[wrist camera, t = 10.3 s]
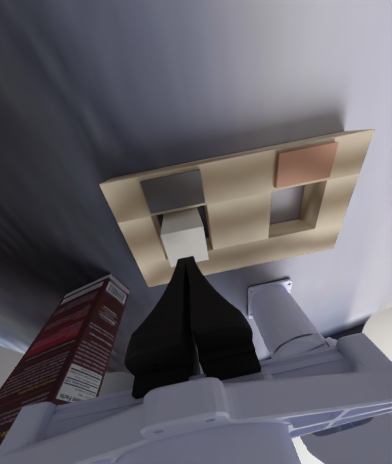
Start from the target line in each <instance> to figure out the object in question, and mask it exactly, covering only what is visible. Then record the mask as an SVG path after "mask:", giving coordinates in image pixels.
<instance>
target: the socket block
mask: <svg viewBox="0 0 392 464" xmlns="http://www.w3.org/2000/svg"><path fill="white" fill-rule="evenodd" d="M374 130H375V129H369V130H354V131H343V132H338V133H333V134H328V135H323V136H318V137H313V138H308V139H303V140H298V141H293V142H288V143H283V144H278V145H273V146H268V147H263V148H258V149H253V150H248V151H243V152H238V153H233V154H228V155H223V156H218V157H213V158H208V159H203V160H199V161H194V162H189V163H184V164H179V165H174V166H169V167H164V168H159V169H154V170H149V171H144V172H139V173H134V174H129V175H124V176H119V177H114V178H110V179H108V180H107V181H105V182H103V183H101V184H99V185H100V187H101V189H102V192H103V194H104V196H105V198H106V200H107V202H108V204H109V206H110V208H111V210H112V212H113V214H114V216H115V219H116V221H117V223H118V225H119V227H120V229H121V231H122V233H123V235H124V237H125V239H126V241H127V243H128V246H129V248H130V250H131V252H132V254H133V256H134V258H135V260H136V262H137V264H138V266H139V268H140V270H141V273H142V275H143V277H144V279H145V281H146V283H147V285H148V287H152V286H157V285H161V284H166V283H169V282H170V280H171V277H172V275H173V272H174V270H175V267H176V266H175V267H171V266H170V263H169V260H168V257H167V254H166V251H165V248H164V245H163V242H162V239H161V236H160V234H161V226H160V223H159V220H158V217H157V215H159V214H164V213H169V212H174V211H179V210H184V209H189V208H193V207H198V206H203V205H204V208H205V214H206V221H207V228H208V234H209V237H208V238H205V239H206V245H207V251H208V258H209V260H204V261H200V262H196V264H197V266H198V267H199V269H200V271H201V272H202V274H203V275H209V274H214V273H219V272H223V271H228V270H233V269H238V268H242V267H247V266H252V265H257V264H261V263H266V262H271V261H276V260H281V259H285V258H290V257H295V256H300V255H304V254H309V253H314V252H319V251H323V250H328V249H333V248H334V245H335V242H336V239H337V237H338V234H339V231H340V228H341V225H342V222H343V219H344V216H345V213H346V211H347V208H348V205H349V202H350V199H351V196H352V193H353V190H354V188H355V185H356V182H357V179H358V176H359V173H360V170H361V167H362V164H363V162H364V159H365V156H366V153H367V150H368V147H369V144H370V141H371V139H372V136H373V133H374ZM301 185H305V188H304V193H303V199H302V204H301V209H300V215H299V219H295V220H290V221H285V222H280V223H275V224H271V225H269V224H270V211H271V198H272V191H277V190H282V189H286V188H291V187H296V186H301Z"/></svg>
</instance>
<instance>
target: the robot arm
mask: <svg viewBox="0 0 392 464" xmlns="http://www.w3.org/2000/svg"><path fill="white" fill-rule="evenodd" d="M291 285H292V280H291V279H285V280H281V281H276V282H271V283H267V284H262V285H257V286H252V287H249V288H248V318H249V319H252V318H254V320H255V322H256V325H257V327H258V329H259V331H260V334H261V336H262V338H263V340H264V343H265V345H266V347H267V349H268V350H269V352H270V353H271V354H272V355H271V358H272V359H270V360H266V361H261V362H259V360H258V358H257V355H256V352H255V347H254V345H253V342H252V336H253V333H252V329H251V327H250V325H249V323H248V321H247V320H246V318H245V317H244V316H243V314H242V313H241V311H240V310H238V309H237V308H235V307H234V306H233V305H232V304H230V303H229V302H228V301H227V300H226V299H224V298H223V297H222V296H221V295H220V294H219V293H218V292H217V291H216V290H215V289H214V288H213V287H212V286H211V284H210V283H209V282H208V281H207V279H206V278H205V277H204V275H203V274H202V272H201V271H200V269H199V267H198V266H197V264H196V261H195V258H194V256H190V257H185V258H180V259H178V260H177V264H176V267H175V270H174V272H173V275H172V277H171V280H170V282H169V284H168V286H167V288H166V290H165V292H164V294H163V295H162V297H161V299H160V300H159V302H158V303H157V305H156V306H155V308H154V309H153V310H152V312H151V313H150V314H149V316H148V317H147V318H146V319H145V321H144V322H143V323H142V324H141V325H140V326H139V327H138V328H137V330H136V331H135V332H134V333H133V334H132V336H131V339H130V342H129V345H128V348H127V353H126V357H125V361H124V365H125V366H126V368H127V369H128V370H129V371H130V372H131V373H132V374H133V375H134V376H135V378H134V385H133V389H132V390H128V391H123V392H118V393H114V394H109V395H105V396H100V397H95V398H91V399H86V400H82V401H77V402H72V403H68V404H63V405H59V406H56V405H55V404H54V403H51V402H40V403H36V404H31V405H27V406H24V407H22V409H21V411H20V413H19V414H18V416H17V418H16V419H15V421H14V423H13V425H12V426H11V428H10V430H9V432H8V433H7V435H6V437H5V439H4V440H3V442H2V444H1V445H0V464H301V462H300V460H299V457H298V455H297V453H296V450H295V447H294V445H293V442H292V439H291V438H294V437H298V436H300V437H301V439H302V441H303V443H304V444H305V445H306V447H307V450H308V451H309V452H310V453H311V454H312V455H313V456H315V457H316V458H317V459H319V460H320V461H322V462H323V463H325V464H392V362H391V361H390V360H389V359H388V358H387V357H386V356H385V355H384V354H383V352H382V351H380V349H379V348H378V347H377V346H376V345H374V343H373V342H372V341H371V340H370V339H369V338H368V337H367V336H366V335H365V334H363V333H359V334H354V335H349V336H345V337H342V338H340V339H339V340H338V341H337V340H335V339H332V338H330V337H328V338H326V339H325V338H324V337H323V336H321V334H320V333H319V332H318V330H317V329H316V328H315V326H314V325H313V324H312V322H311V321H310V320H309V318H308V317H307V316H306V314H305V313H304V312H303V311H302V309H301V308H300V307H299V305H298V304H297V303H296V301H295V300H294V299H293V297H292V296H291V295H290V290H291ZM197 348H198V353H197ZM198 357H199V360H198ZM199 363H200V364H201V367H202V369H203V372H204V374H200V367H199Z"/></svg>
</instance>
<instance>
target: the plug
mask: <svg viewBox="0 0 392 464" xmlns="http://www.w3.org/2000/svg"><path fill="white" fill-rule="evenodd" d="M160 236H161V239H162V242H163V245H164V248H165V251H166V254H167V257H168V260H169V263H170V266H171V267H175V266H176V264H177V260H178V259H180V258H185V257H190V256H194V258H195V261H196V262H200V261H204V260H209V258H208V251H207V245H206V239H205V233H204V227H203V224H202V221H201V218H200V215H199V212H198V209H197V207H193V208H189V209H184V210H179V211H174V212H169V213H164V215H163V222H162V228H161V234H160Z"/></svg>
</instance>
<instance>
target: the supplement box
mask: <svg viewBox="0 0 392 464" xmlns="http://www.w3.org/2000/svg"><path fill="white" fill-rule="evenodd" d="M128 295H129V290H128V289H127V288H126V287H125V286H124V285H123V284H122V283H120V282H119V281H118V280H117V279H116V278H115V277H114V276H113V275H112V274H109V275H107V276H105V277H102V278H100V279H98V280H96V281H94V282H92V283H90V284H87V285H85V286H83V287H81V288H79V289H77V290H74V291H72V292H70V293H68V294H66V295H65V297H64V298H63V300H62V301H61V302H60V304H59V305H58V307H57V308H56V310H55V311H54V313H53V314H52V315H51V317H50V318H49V320H48V321H47V323H46V324H45V326H44V327H43V328H42V330H41V331H40V333H39V334H38V336H37V337H36V338H35V340H34V341H33V343H32V344H31V346H30V347H29V349H28V350H27V351H26V353H25V354H24V356H23V357H22V359H21V360H20V362H19V363H18V365H17V366H16V367H15V369H14V370H13V372H12V373H11V374H10V376H9V377H8V379H7V380H6V381H5V383H4V385H3V386H2V387H1V389H0V445H1V444H2V442H3V440H4V439H5V437H6V435H7V433H8V432H9V430H10V428H11V426H12V425H13V423H14V421H15V419H16V418H17V416H18V414H19V413H20V411H21V409H22V407H24V406H27V405H31V404H36V403H40V402H51V403H54V404H55V405H56V406H59V405H63V404H68V403H72V402H77V401H82V400H86V399H91V398H95V397H98V395H99V392H100V388H101V385H102V382H103V378H104V375H105V372H106V368H107V365H108V362H109V358H110V355H111V351H112V348H113V345H114V342H115V338H116V335H117V331H118V328H119V325H120V321H121V318H122V315H123V311H124V308H125V305H126V301H127V298H128Z"/></svg>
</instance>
